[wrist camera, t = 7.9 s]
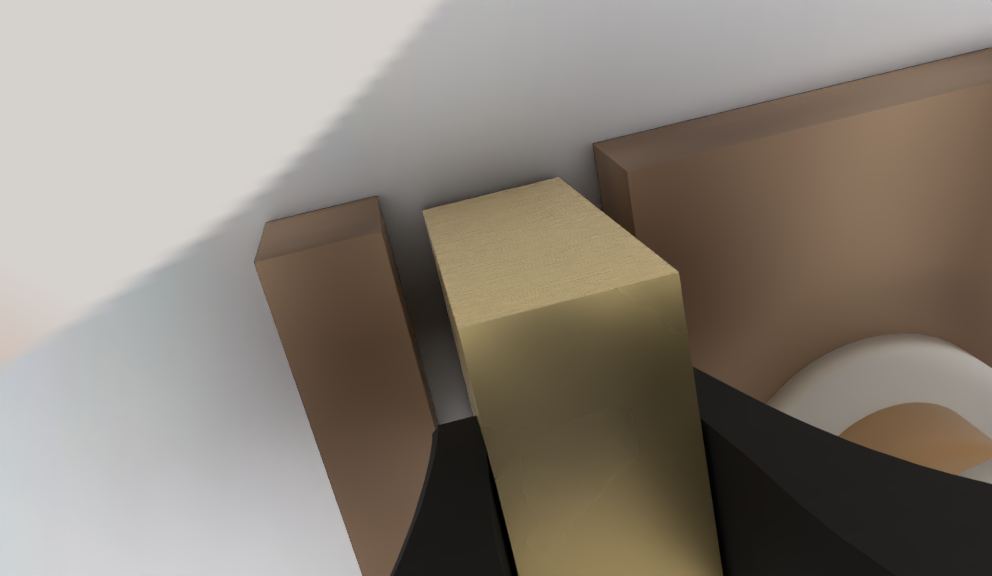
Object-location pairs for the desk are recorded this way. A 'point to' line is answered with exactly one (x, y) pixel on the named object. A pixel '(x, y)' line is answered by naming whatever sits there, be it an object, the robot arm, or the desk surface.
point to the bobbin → (901, 401)
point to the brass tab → (578, 384)
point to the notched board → (679, 263)
